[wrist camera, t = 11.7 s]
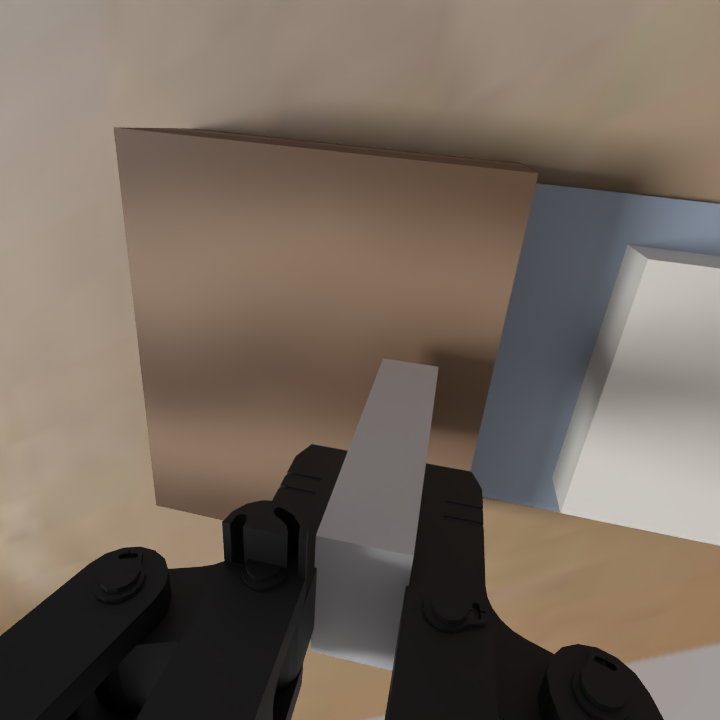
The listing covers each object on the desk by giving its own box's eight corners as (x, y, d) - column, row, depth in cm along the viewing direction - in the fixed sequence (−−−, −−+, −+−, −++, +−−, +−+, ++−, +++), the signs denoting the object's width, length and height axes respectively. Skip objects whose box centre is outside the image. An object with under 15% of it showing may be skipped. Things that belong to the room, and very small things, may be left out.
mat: (528, 182, 15) (529, 183, 15) (853, 217, 14) (861, 219, 14) (460, 487, 21) (460, 492, 20) (694, 534, 19) (697, 540, 19)
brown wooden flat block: (189, 128, 17) (113, 127, 13) (522, 164, 15) (538, 173, 12) (206, 445, 22) (156, 505, 19) (451, 495, 21) (447, 570, 17)
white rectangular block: (897, 292, 13) (845, 272, 14) (647, 259, 14) (627, 244, 15) (746, 551, 17) (720, 510, 18) (560, 513, 17) (552, 477, 19)
